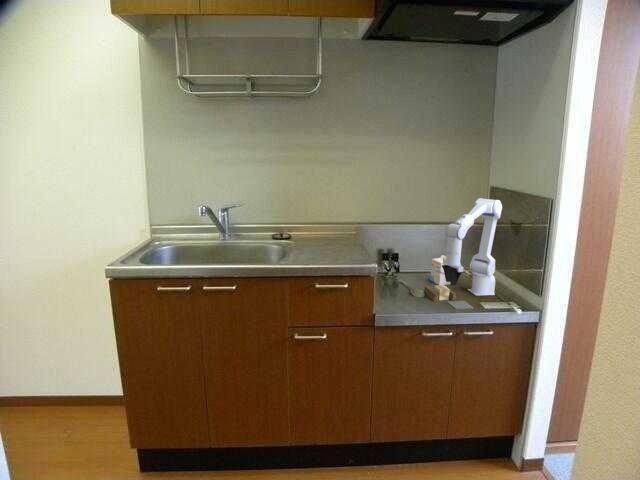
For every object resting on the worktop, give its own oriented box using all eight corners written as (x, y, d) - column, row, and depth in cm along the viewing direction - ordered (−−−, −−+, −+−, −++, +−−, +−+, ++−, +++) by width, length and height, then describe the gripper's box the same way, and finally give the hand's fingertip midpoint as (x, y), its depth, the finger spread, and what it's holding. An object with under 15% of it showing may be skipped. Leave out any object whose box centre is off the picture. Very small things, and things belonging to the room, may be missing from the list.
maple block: (442, 295, 181) (443, 284, 180) (448, 299, 175) (449, 289, 174) (433, 295, 181) (434, 285, 179) (439, 300, 175) (440, 289, 174)
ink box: (429, 280, 202) (431, 254, 199) (443, 278, 205) (445, 253, 202) (439, 285, 194) (441, 259, 191) (453, 284, 197) (456, 258, 194)
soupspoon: (414, 299, 178) (427, 299, 179) (415, 292, 177) (428, 292, 178) (394, 282, 198) (406, 282, 200) (395, 276, 197) (407, 276, 199)
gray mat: (464, 301, 173) (464, 300, 173) (473, 308, 166) (473, 307, 165) (447, 302, 172) (447, 301, 172) (455, 309, 164) (455, 308, 164)
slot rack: (444, 291, 185) (445, 285, 185) (455, 300, 175) (456, 293, 174) (424, 292, 184) (424, 286, 183) (434, 301, 173) (434, 294, 173)
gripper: (437, 248, 172) (434, 278, 175) (452, 257, 158) (449, 289, 161) (452, 248, 173) (449, 277, 176) (469, 256, 159) (466, 288, 162)
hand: (450, 283), depth 168 cm, fingers open, 4 cm apart
